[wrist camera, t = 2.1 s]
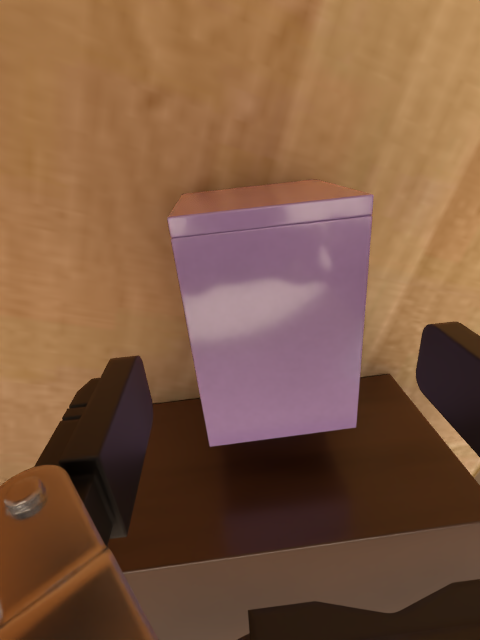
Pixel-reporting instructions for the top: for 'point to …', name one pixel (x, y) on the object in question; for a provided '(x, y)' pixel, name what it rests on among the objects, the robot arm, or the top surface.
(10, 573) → the robot arm
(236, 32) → the top surface
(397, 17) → the top surface
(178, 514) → the stand
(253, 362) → the purple lidded box
